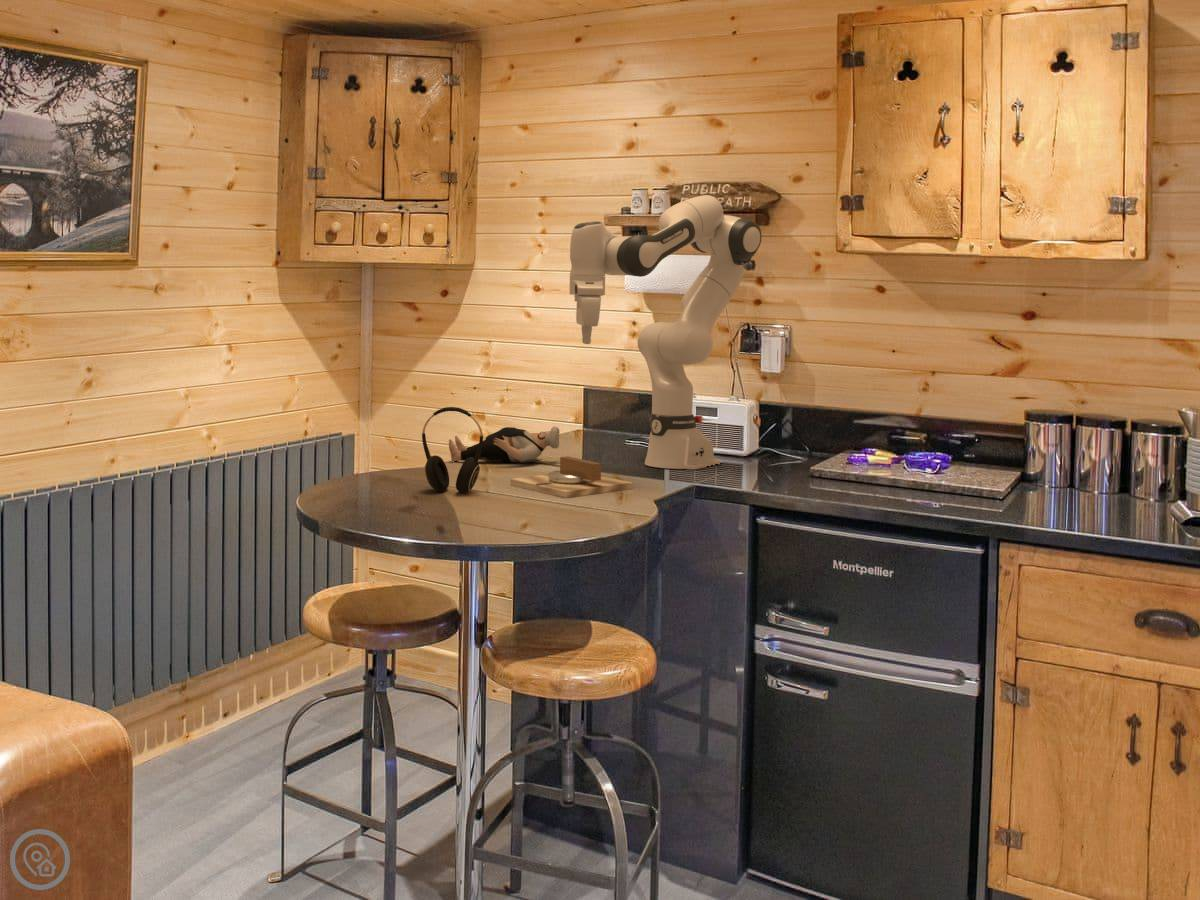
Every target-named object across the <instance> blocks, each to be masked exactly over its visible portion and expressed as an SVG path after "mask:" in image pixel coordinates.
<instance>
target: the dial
mask: <svg viewBox="0 0 1200 900" xmlns="http://www.w3.org/2000/svg"><path fill="white" fill-rule="evenodd" d="M548 474H549V480H550V481H552V482H558V483H588V482H592V481H598V480H601V476H602V463H600V462H595V461H593V460H592V461H591V460H588V459H582V458H578V457H573V456H560V457H559V470H555V471H554V470H553V471H550V472H548Z"/></svg>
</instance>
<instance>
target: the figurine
mask: <svg viewBox="0 0 1200 900" xmlns="http://www.w3.org/2000/svg"><path fill="white" fill-rule="evenodd" d="M478 446H479V442H478V443H476V444H473V445H471V446H469V447H467V446H465V445H464V444H463V443H462V440H461V439H460V438H459V437H458V435H455V436H454V441H453V440H452V439H451V438H450V439H448V449H449V452H450V458H451V462H452V463H454V462H453V461H458V462H461V461H463V462H464V461H465V460H466V459H467V458H469V457H473V458H475V455H476V452H477V449H478ZM549 446H550V448H552V449H558V448H559V446H560V427H558V426H555V425H554V426H552V427H551V428H550V430H548V431H540V432H529V431H527V430H526V429H522V428H517V427H515V426H514V427H511V426H506V427H503V428H501V429H499V430H497V431H496V432H493V433H491V434H489V435H487V436H486V437H484V439H483V445H482V450H481V454H480V457H479V460H480V459H486V460H488V461H500V462H503V463H521V464H522V463H526V464H527V463H531V462H533V461H535V460H537V459H538V458H539V457H540V456H541V455H542V452H543V451H544V450H546V448H547V447H549ZM459 460H460V461H459Z"/></svg>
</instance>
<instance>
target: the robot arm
mask: <svg viewBox="0 0 1200 900" xmlns="http://www.w3.org/2000/svg"><path fill="white" fill-rule="evenodd" d="M658 230H659V231H658V232H655V233H653V234H652V235H648V234H646V235H645V234H638V235H630V236H629V235H628V236H627V235H626V236H618V234H615V233H613V232H612V231H610V230H609V229H607V227H606V226H605V225H604V223H603V222H601V221H589V222H588V221H587V222H581V223H577V224H576V225H575V226H574V227H573V229H572V233H571V236H570V237H571V238H570V244H569V245H570V246H569V247H570V248H569V259H570V264H571V269H570V272H569V295H572V296H573V295H574V301H573V302H576V309H575V310H576V315H575V316H576V317H575V318H576V320H575V321H576V324H577V325H580V326H581V337H582V344H584V345H591V343H592V339H591V338H592V332H593V327H595V328H596V327H598V324H599V322H600V315H601V314H600V313H601V303H602V297H603V296H605V295H606V275H608V276H631V277H639V278H640V277H642V278H643V277H646V276H648V275H649V274H651V273H652V272H653V271H654V270H655V269H656V267H658V265H659V264H660V263H661V261H663V260H664V259H665V258H666V257H668V256H670V255H671V254H674V253H675V252H677V251H679V250H681V249H682V248H684V247H686V246H689V245H691V247H692V248H693V249H694V250H696V251H698V252H699V253H702V254H709V255H710V259H709V261H708V264H707V265H706V266H705V267H704V269H702V270H701V272H700V273H699V274H698V276H697V277H696V279H695V280H694V281H693V282H692V284H690V287H689V288H688V289H687V291H686V292H685V293H684V295H683V296H682V298H681V303H680V304H681V308H682V311H681V313H680V316H679V317H678V319H676V321H674V322H668V321H657V322H653V323H650V324H647V325H646V326H644V327H643V328H642V329H641V330H640V331H639V333H638V335H637V336H638V337H637V342H636V343H637V348H638V351H639V352H640V353H641V355H642V356H643V357H644V360H645V361H646V364H647V368H648V371H649V376H650V382H651V394H652V396H651V398H652V399H651V413H650V417H649V427H650V433H649V438H648V439H649V440H648V445H647V453H646V457H645V460H644V465H645V466H648V467H653V468H660V469H671V470H672V469H674V470H675V469H676V470H677V469H679V470H681V469H683V470H684V469H685V470H698V469H704V468H707V466H709V467H712V466H711V465H713V466H716V465H715V464H718V465H721V464H720V463H722V464H723V461H722V459H719V458H716V457H715V454H714V445H713V443H712V442H713V441H711V440H710V439H709V438H708V437H707V436H706V435H705V434H703V432H702V431H701V430H700V429H698V427H697V423H698V424H702V423H703V422H704V417H703V415H699V414H698V415H697V414H696V415H695V416H694V413H693V401H694V388H693V384H692V382H691V381H690V379H688V376H687V375H686V372H685V368H684V365H685V366H689V365H695V364H700V363H703V362H704V361H706V360H707V359H708V358H709V356H710V355H711V353H712V350H713V338H712V332H713V331H712V330H713V327H714V325H715V323H716V322H717V319H718V318H719V317H720V315H721V314H722V313H723V311H724V309H725V308H726V306H727V305H728V304H729V303H730V301H731V300H732V298H733V296H734V295H735V293H736V292H737V289H739V286H740V284H741V282H742V281H743V278H744V275H745V268H744V266H743V265H745V264H748V263H749V262H750V261H751V260H752V258H753V257H754V256H755V254H756V253H757V251H758V250H759V248H760V246H761V243H762V230H761V227H760V225H759V224H758V223H756V221H753V220H752V219H750V218H747V217H739V216H735V215H729V214H728V215H727V214H724V209H723V206H722V204H721V202H720V201H719V199H717V198H716V197H715V196H712V195H710V194H705V195H704V194H703V195H698V196H695V197H694V196H693V197H691V198H687V199H685V200H682V201H680V202H678V203H676V204H673V205H671V206H670V207H669V208H667V209H666V210H664V211H663V212H662V213H661V214H660V216H659V220H658Z"/></svg>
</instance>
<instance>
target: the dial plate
mask: <svg viewBox="0 0 1200 900" xmlns="http://www.w3.org/2000/svg"><path fill="white" fill-rule="evenodd" d="M509 482H510V484H509V485H510V486H514V487H516V488H517V487H518V488H522V489H526V490H530V491H534V492H539V493H542V494H545V495H546V494H547V495H551V496H554V497H560V498H565V499H568V498H576V497H582V496H588V495H589V496H590V495H597V494H598V495H599V494H605V493H610V492H612V493H613V492H618V491H625V490H626V491H627V490H632V489H633V482H630V481H626V480H622V479H616V478H612V477H607V476H602V475H601V480H598V481H592V482H588V483H558V482H552V481H550V480H549V473H548V474H541V475H533V476H526V477H525V476H524V477H516V478H515V477H514V478H510V480H509Z"/></svg>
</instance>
